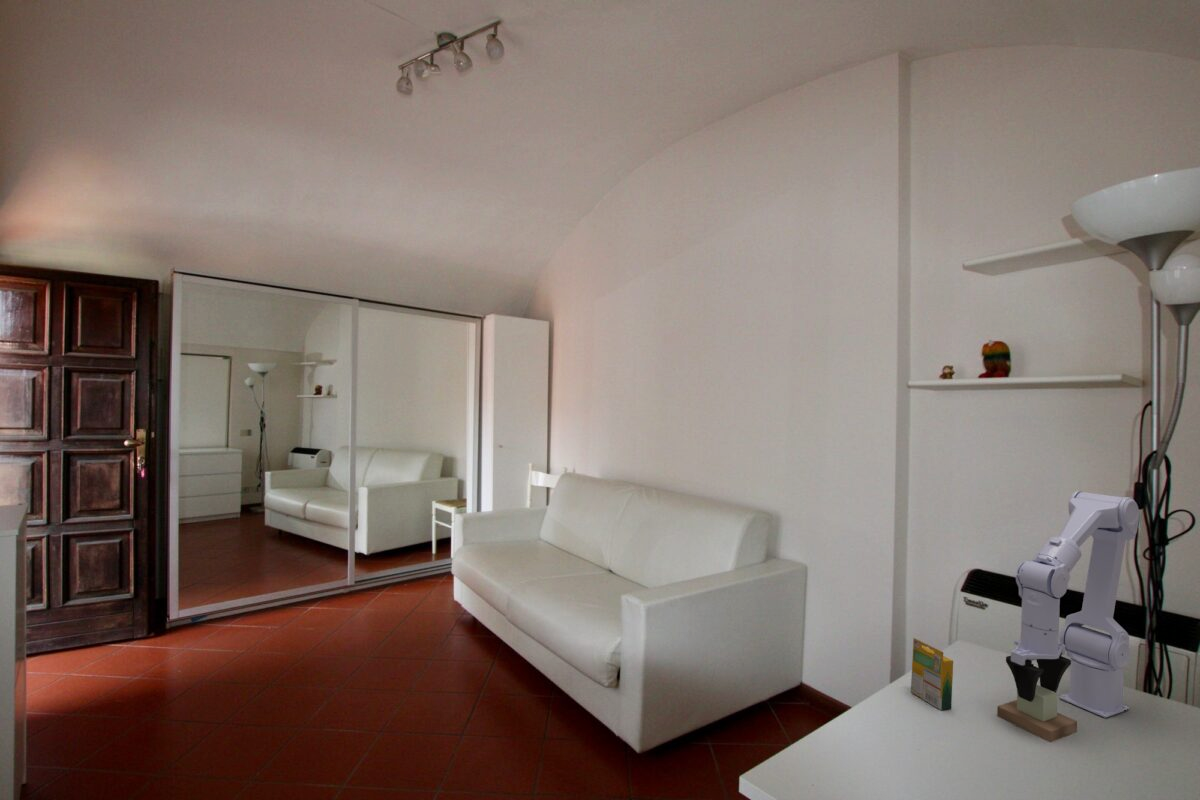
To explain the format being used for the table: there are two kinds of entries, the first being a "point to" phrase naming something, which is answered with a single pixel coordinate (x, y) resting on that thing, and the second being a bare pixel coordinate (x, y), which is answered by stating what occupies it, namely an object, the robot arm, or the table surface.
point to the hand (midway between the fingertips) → (1037, 695)
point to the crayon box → (931, 675)
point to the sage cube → (1039, 704)
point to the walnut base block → (1038, 722)
